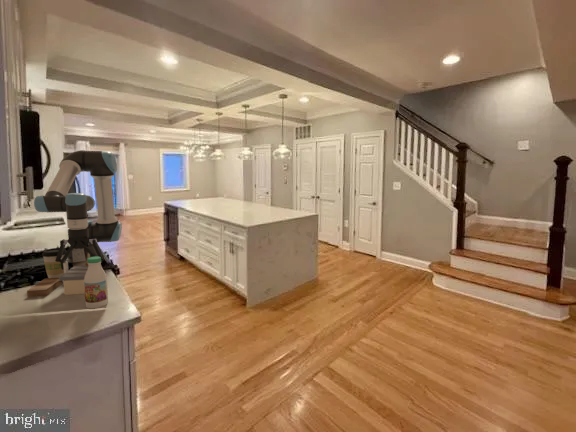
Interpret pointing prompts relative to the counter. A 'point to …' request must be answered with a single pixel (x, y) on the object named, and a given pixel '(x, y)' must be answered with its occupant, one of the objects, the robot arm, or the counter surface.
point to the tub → (74, 287)
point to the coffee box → (80, 257)
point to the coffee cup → (53, 263)
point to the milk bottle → (95, 284)
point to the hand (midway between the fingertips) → (81, 275)
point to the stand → (44, 287)
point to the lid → (75, 273)
